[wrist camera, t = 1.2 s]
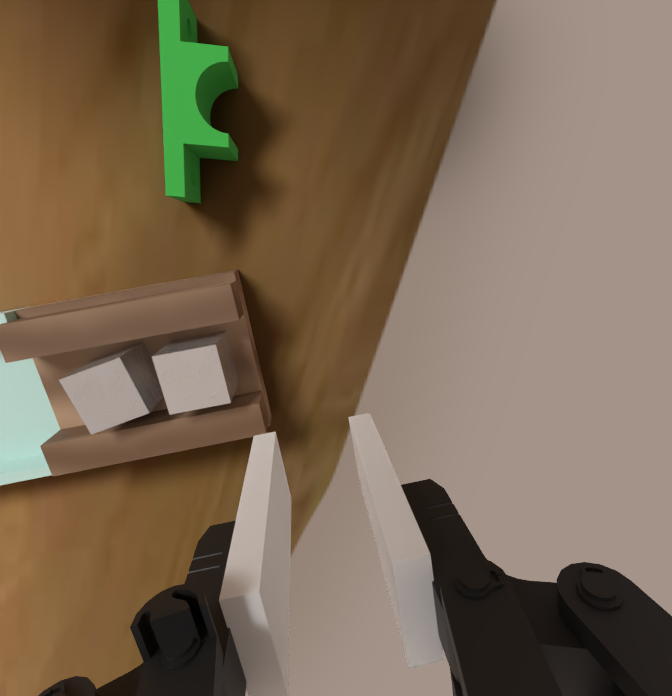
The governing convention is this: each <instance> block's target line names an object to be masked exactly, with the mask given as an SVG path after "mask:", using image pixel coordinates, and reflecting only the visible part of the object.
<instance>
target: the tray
mask: <svg viewBox="0 0 672 696" xmlns="http://www.w3.org/2000/svg"><path fill="white" fill-rule="evenodd" d="M30 307H31V306H30ZM24 308H27V307H24ZM19 309H23V308H19ZM19 309H13V310H7V311H2V312H0V324H3V323H6V322H10V321H13V320H17V317H16V315H15V312H14V311H15V310H19ZM59 430H60V427H59V424H58V422H57V419H56V417H55V414H54V412H53V409H52V407H51V404H50V401H49V399H48V396H47V394H46V391H45V389H44V386H43V384H42V381H41V378H40V376H39V373H38V371H37V368H36V366H35V363H34V361H33V358H31V359H25V360H20V361H15V362H9V363H5V360H4V358H3V355H2V353H1V350H0V485H5V484H10V483H15V482H20V481H25V480H30V479H35V478H40V477H45V476H50V475H52V474H51V472H50V469H49V467H48V464H47V462H46V459H45V457H44V455H43V452H42V450H41V447H40V446H41V445H42V444H43V443H44V442H46V441H47V440H48V439H49V438H51V437H52V436H53V435H54V434H56V433H57V432H58V431H59Z"/></svg>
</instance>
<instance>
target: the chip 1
mask: <svg viewBox="0 0 672 696" xmlns="http://www.w3.org/2000/svg"><path fill="white" fill-rule="evenodd" d="M59 381H60V383H61V385H62V386H63V388H64V390H65V391H66V393H67V395H68V397H69V398H70V400H71V402H72V403H73V405H74V407H75V408H76V410H77V412H78V413H79V415H80V417H81V418H82V420H83V422H84V423H85V425H86V427H87V429H88V430H89V432H90V434H91V435H92V434H94V433H97V432H100V431H103V430H105V429H108V428H111V427H113V426H116V425H119V424H121V423H124V422H127V421H129V420H132V419H135V418H138V417H140V416H143V415H146V414H148V413H150V412H151V411H152V409H153V408H154V407H155V406H156V405H157V404H158V402H159V401H160V400H161V399H162V398H163V396H164V395H163V392H162V389H161V385H160V382H159V379H158V376H157V372H156V369H155V366H154V363H153V360H152V358H151V356H150V354H149V352H148V350H147V348H146V347H145V345H144V343H143V342H141V343H138V344H135V345H133V346H130V347H127V348H125V349H122V350H119V351H117V352H114V353H111V354H108V355H106V356H103V357H100V358H98V359H95V360H92V361H90V362H88V363H86V364H85V365H83V366H81V367H80V368H78V369H76V370H75V371H73V372H71V373H70V374H68V375H66V376H65V377H63V378H61V379H60V380H59Z"/></svg>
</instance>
